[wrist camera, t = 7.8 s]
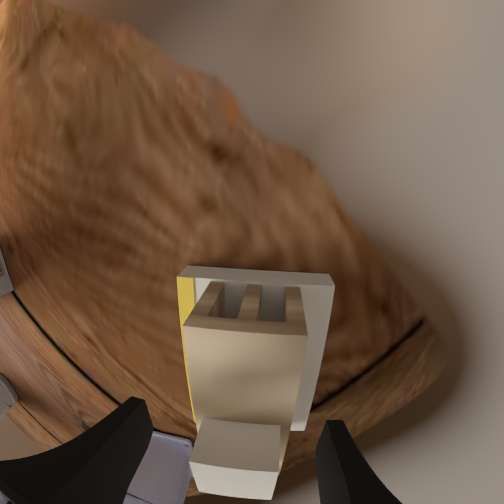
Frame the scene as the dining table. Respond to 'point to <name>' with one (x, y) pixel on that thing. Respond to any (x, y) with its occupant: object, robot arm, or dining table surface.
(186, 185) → the dining table surface
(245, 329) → the slotted cream block
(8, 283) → the coffee box
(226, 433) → the plain white block
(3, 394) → the travel mug
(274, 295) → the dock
